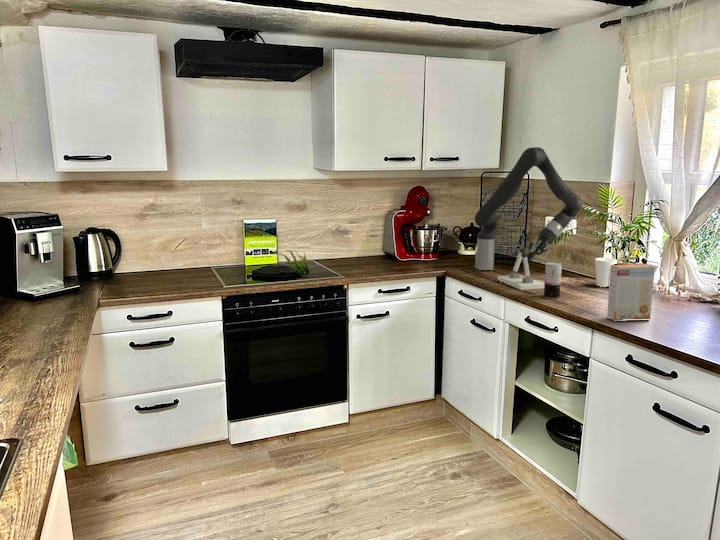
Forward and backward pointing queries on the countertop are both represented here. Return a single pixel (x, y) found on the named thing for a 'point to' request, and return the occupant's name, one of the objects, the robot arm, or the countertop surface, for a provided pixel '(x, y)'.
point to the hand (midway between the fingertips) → (527, 259)
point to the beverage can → (552, 280)
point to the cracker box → (630, 291)
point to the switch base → (521, 281)
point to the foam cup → (603, 270)
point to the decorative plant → (300, 269)
